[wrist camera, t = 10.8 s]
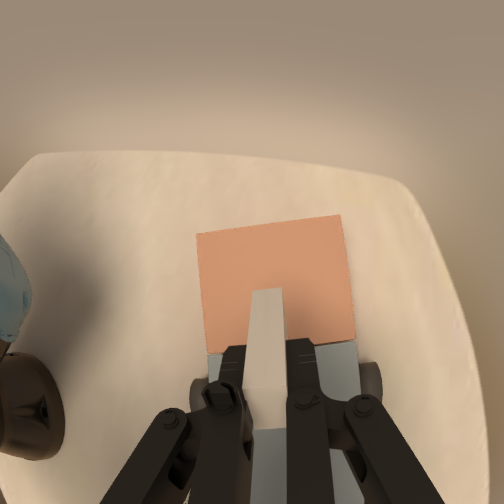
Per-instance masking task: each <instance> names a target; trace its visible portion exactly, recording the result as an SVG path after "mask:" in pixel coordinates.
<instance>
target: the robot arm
mask: <svg viewBox="0 0 504 504" xmlns="http://www.w3.org/2000/svg"><path fill="white" fill-rule="evenodd" d="M31 300H32V292H31V286H30V283H29V279H28V277H27V274H26V272H25V270H24V268H23V266H22V264H21V263H20V261H19V259H18V258H17V256H16V255H15V253H14V252H13V250H12V249H11V247H10V246H9V245H8V243H7V242H6V241H5V239H4V238H3V237H2V236H1V234H0V452H2V453H5V454H9V455H12V456H16V457H21V458H24V459H27V460H32V461H37V460H43V459H48V458H51V457H52V456H54V455H55V454H56V453H57V452H58V450H59V448H60V446H61V443H62V440H63V434H64V415H63V408H62V403H61V399H60V396H59V392H58V390H57V387H56V385H55V382H54V380H53V378H52V376H51V375H50V373H49V371H48V370H47V368H46V367H45V366H44V365H43V364H42V362H40V361H39V360H38V359H37V358H35V357H34V356H31V355H28V354H23V353H18V352H11V353H7V351H8V349H9V347H10V345H11V343H12V342H14V341H15V340H16V339H17V337H18V333H19V328H20V326H21V324H22V322H23V320H24V318H25V316H26V315H27V313H28V311H29V308H30V305H31ZM6 353H7V354H6ZM201 395H202V397H203V399H204V402H205V404H206V406H207V407H205V408H203V409H201V410H198V411H194V412H190V413H186V414H185V413H184V411H183V410H180V409H178V408H169V409H165V410H163V411H161V412H160V413H159V414H158V415H157V416H156V417H155V419H154V420H153V422H152V423H151V425H150V426H149V428H148V429H147V431H146V433H145V434H144V436H143V437H142V439H141V440H140V442H139V443H138V445H137V447H136V448H135V450H134V451H133V453H132V454H131V456H130V457H129V459H128V460H127V462H126V464H125V465H124V467H123V468H122V470H121V471H120V473H119V474H118V476H117V477H116V479H115V481H114V482H113V484H112V485H111V487H110V488H109V490H108V491H107V493H106V494H105V496H104V497H103V499H102V500H101V502H100V504H183V503H184V501H185V499H186V497H187V495H188V493H189V491H190V495H189V501H188V504H250V497H251V483H252V468H253V453H254V438H253V434H252V430H253V426H254V429H255V430H260V429H277V428H286V452H287V504H335V498H334V487H333V476H332V467H331V457H330V449H337V450H342V452H343V454H344V456H345V458H346V460H347V463H348V465H349V467H350V469H351V471H352V473H353V475H354V477H355V480H356V482H357V484H358V486H359V488H360V490H361V492H362V494H363V497H364V499H365V501H366V503H367V504H445V503H444V501H443V500H442V498H441V496H440V495H439V493H438V492H437V490H436V488H435V487H434V485H433V483H432V482H431V480H430V479H429V477H428V475H427V474H426V472H425V470H424V469H423V467H422V466H421V464H420V462H419V461H418V459H417V458H416V456H415V455H414V453H413V451H412V450H411V448H410V447H409V445H408V443H407V442H406V440H405V439H404V437H403V436H402V434H401V432H400V431H399V429H398V428H397V426H396V425H395V423H394V422H393V420H392V418H391V417H390V415H389V414H388V412H387V411H386V409H385V408H384V406H383V405H382V403H381V402H380V401H379V400H378V399H377V398H376V397H374V396H372V395H369V394H361V395H356V396H354V397H352V398H351V399H349V401H339V400H334V399H331V398H329V397H327V396H326V395H325V394H324V393H323V392H322V390H321V387H320V380H319V373H318V367H317V360H316V354H315V347H314V344H313V343H312V342H311V340H310V339H309V338H300V339H291V340H288V332H287V323H286V315H285V307H284V300H283V292H282V287H279V288H271V289H262V290H253V292H252V301H251V311H250V320H249V329H248V338H247V345H234V346H228V348H227V349H226V350H225V352H224V353H223V356H222V361H221V366H220V371H219V377H218V380H216V381H213V382H211V383H209V384H208V385H206V386H205V387H204V388H203V390H202V392H201ZM190 489H191V490H190Z"/></svg>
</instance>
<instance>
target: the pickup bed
mask: <svg viewBox="0 0 504 504" xmlns="http://www.w3.org/2000/svg"><path fill="white" fill-rule="evenodd" d="M315 354H316V360H317V367H318V373H319V380H320V387H321V390H322V392H323V393H324V394H325V395H326V396H327V397H329V398H331V399H334V400H339V401H349V399H351V398H352V397H354V396H356V395H361V394H369V395H372V396H374V397H376V398H377V399H378V400H379V401H380V402H381V403H382V396H383V388H382V379H381V374H380V370H379V367H378V365H377V363H376V362H371V363H366V364H360V365H358V356H357V347H356V341H351V342H344V343H337V344H330V345H323V346H315ZM207 356H208V375H209V379H194V380H193V382H192V384H191V388H190V396H189V400H190V409H191V412H194V411H198V410H201V409H203V408H205V407H207V406H206V404H205V402H204V399H203V397H202V395H201V392H202V390H203V388H204V387H205V386H206V385H208V384H209V383H211V382H213V381H216V380H218V377H219V371H220V366H221V361H222V356H223V355H207ZM252 434H253V438H254V453H253V468H252V483H251V497H250V504H287V452H286V428H277V429H260V430H255V429H254V426H253V430H252ZM330 457H331V467H332V476H333V487H334V498H335V504H367V503H364V497H363V494H362V492H361V490H360V488H359V486H358V484H357V482H356V480H355V477H354V475H353V473H352V471H351V469H350V467H349V465H348V463H347V460H346V458H345V456H344V454H343V452H342V450H337V449H330Z"/></svg>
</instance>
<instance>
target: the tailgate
mask: <svg viewBox="0 0 504 504" xmlns="http://www.w3.org/2000/svg"><path fill="white" fill-rule="evenodd" d="M196 239H197V252H198V264H199V276H200V287H201V297H202V307H203V317H204V326H205V335H206V343H207V351H208V353H224V352H225V350H226V349H227V348H228V346H234V345H247V338H248V329H249V320H250V311H251V301H252V292H253V290H262V289H271V288H279V287H282V292H283V300H284V307H285V315H286V323H287V332H288V340H291V339H300V338H309V339H310V340H311V342H312V343H313V344H314V345H316V344H324V343H331V342H338V341H345V340H351V339H356V337H355V325H354V314H353V304H352V295H351V286H350V278H349V270H348V263H347V255H346V248H345V242H344V235H343V229H342V223H341V217H340V215H334V216H325V217H317V218H309V219H301V220H293V221H286V222H278V223H270V224H263V225H256V226H248V227H241V228H234V229H227V230H220V231H213V232H206V233H199V234H196Z"/></svg>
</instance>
